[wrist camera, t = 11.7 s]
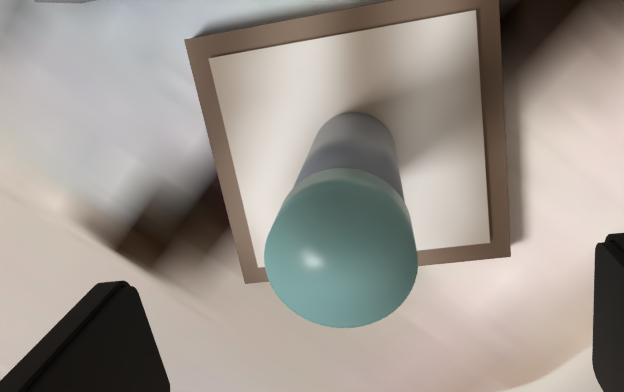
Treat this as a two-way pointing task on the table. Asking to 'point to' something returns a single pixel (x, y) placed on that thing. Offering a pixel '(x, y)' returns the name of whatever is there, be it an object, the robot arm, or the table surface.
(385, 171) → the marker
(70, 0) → the button housing
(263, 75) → the board
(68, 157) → the table surface
